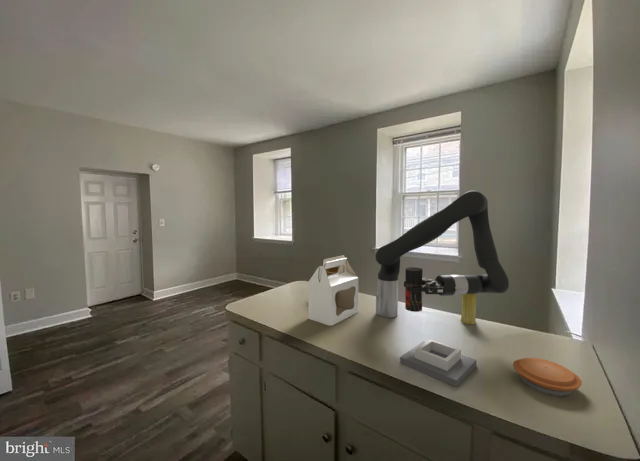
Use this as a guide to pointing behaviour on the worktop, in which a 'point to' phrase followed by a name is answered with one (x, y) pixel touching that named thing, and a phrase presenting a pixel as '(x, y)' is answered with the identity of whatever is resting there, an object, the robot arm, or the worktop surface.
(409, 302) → the deodorant
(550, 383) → the pie
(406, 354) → the grey white socket base
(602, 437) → the worktop surface
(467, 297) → the vase
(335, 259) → the gable box
